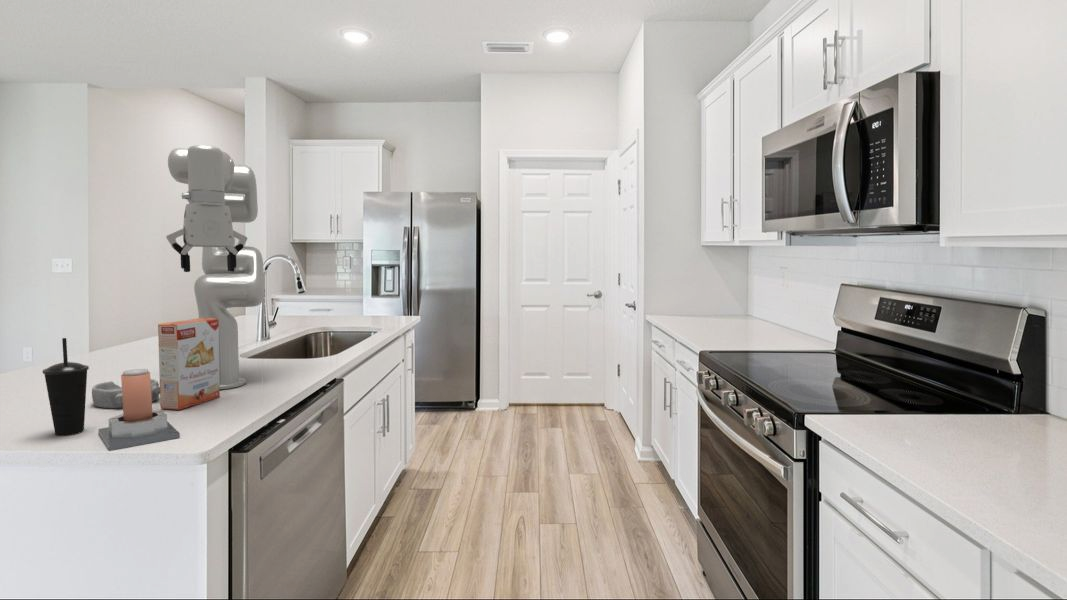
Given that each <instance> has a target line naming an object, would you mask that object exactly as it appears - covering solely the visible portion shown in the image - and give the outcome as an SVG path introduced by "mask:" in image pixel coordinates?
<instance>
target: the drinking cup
mask: <svg viewBox="0 0 1067 600" xmlns="http://www.w3.org/2000/svg"><path fill="white" fill-rule="evenodd" d="M61 340H62V357H63V362H58V363H56V364H53V365H51V366H48V367H47V368H44V369H43V370H42V374H43V375H44V379H45V383H46V392H47V396H48V402H49V407H50V412H51V418H52V423H53V430H54V434H55V436H57V437H58V436H60V437H64V436H65V437H66V436H72V434H73V435H77V434H80V433H83V432H84V431H85V421H86V420H85V419H86V418H85V417H86V399H87V396H86V395H87V384H88V383H87V379H88V370H89V369H90V367H89V365H86V364H82V363H79V362H72V361H68V347H67V345H68V344H67V341H68V340H67V337H62V338H61ZM83 430H84V431H83ZM82 431H83V432H82ZM79 432H80V433H79ZM76 433H77V434H76Z"/></svg>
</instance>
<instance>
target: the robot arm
mask: <svg viewBox="0 0 1067 600" xmlns="http://www.w3.org/2000/svg"><path fill="white" fill-rule="evenodd" d="M167 167H168V170H169V174H170V175H171V177H172V178H173V180H174V181H176V182H177V183H181V184H186V185H188V186H187V187H188V191H187V192H185V193H184V192H182V193H181V199H182V200H187V202H188V203H186V204H185V208H184V213H183V215H184V216H183V228H180V229H179V230H176V231H174V232H172V233H169V234H168V235H166V237H165V238H166V240H167V241H168V243H169V244H170V246H171V248H172V249H173V250H175V251H176V252H177V253H178V255H179V256H180V269H183V272H184V273H190V272H191V256H190V254H189V252H190V251H191V249H192V248H194V247H197V248H200V247H201V248H202V252H201V253H202V255H201V256H202V257H201V266H202V271H203V274H204V275H201V276H199V277H197V279H196V280H195V282H194V284H193V285H194V286H193V287H194V288H193V289H194V290H193V291H194V295H195V301H196V306H197V311H198V318H214V319H218V324H219V380H220V391H221V390H228V389H234V388H238V387H241V386H243V385H245V384H246V379H245V378H244V377H241V376H240V363H239V362H240V360H239V357H240V356H239V333H238V332H239V331H238V330H239V328H238V325H239V324H238V321H237V319H236V318H235V316H234V315H233V314H232V313H230V311H228V309H230V308H252V307H258V306H260V305H261V304H262V303H263V301H264V298H265V297H264V296H265V277H264V261H263V256H262V253H261V251H260V250H259V249H258V248H257V247H254V246H249V245H248V246H245V245H246V242H247V241H248V237H247V236H245V235H244V234H242V233H240V232H237V231H235V230H234V228H233V227H234V226H233V223H242V224H243V223H245V224H246V223H248V224H249V223H252V222H254V221H255V220H256V219H257V217H258V213H259V212H258V210H259V209H258V206H259V205H258V189H257V179H256V175H255V172H254V170H253V169H252V168H251V167H250V166H248V165H245V164H244V165H243V164H235V162H234V160H233V158H232V157H231V156H230V155H229V153H227V152H225V151H222V150H221V149H220V148H218V147H216V146H211V145H199V144H198V145H195V144H194V145H191V146H189V147H188V148H174V149H172V150H171V151H170V153H169V155H168V158H167ZM180 237H182V239H183V246H181V245H180V244H179V243H178V242H177V240H176V239H177V238H180ZM235 238H236V239H237V240H238V243H237V244H236V239H235Z"/></svg>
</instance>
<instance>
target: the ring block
mask: <svg viewBox="0 0 1067 600" xmlns="http://www.w3.org/2000/svg"><path fill="white" fill-rule="evenodd" d="M152 415H153V418H151V419H147V420H141V421H134V422H126V421H124V416H123V413H121V414H119V415H116V416H113V417H110V418H108V427H103V428H102V427H101V428H98V430H97V431H98V435H99V437H100V438H101V440H102V442H103V443H104V444H105V446H106V448H107V449H108V451H114V450H120V449H125V448H131V447H136V446H142V445H143V446H144V445H148V444H152V443H153V444H155V443H157V442H164V441H170V440H174V439H180V438H181V433H180V432H179V431H178V430H177V429H176V428H175V427H174V426H173V425H172V424H171V423H170V422H169V421H168V414H167V413H166V412H165V411H163V410H152Z"/></svg>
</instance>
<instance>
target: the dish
mask: <svg viewBox="0 0 1067 600" xmlns="http://www.w3.org/2000/svg"><path fill="white" fill-rule="evenodd" d="M150 379H151V397H152V403H153V402H155V401H157V400H159V399H160V383H159V381H158V380H157V379H154V378H150ZM91 398H92V401H93V405H94V406H96V407H98V408H108V409H109V408H111V409H123V399H122V386H120V385H119V384H118V385H117V384H116V383H115V382H114V381H111V380H110V381H103V382H98V383H97V384H95V385H93V386H92V389H91Z"/></svg>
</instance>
